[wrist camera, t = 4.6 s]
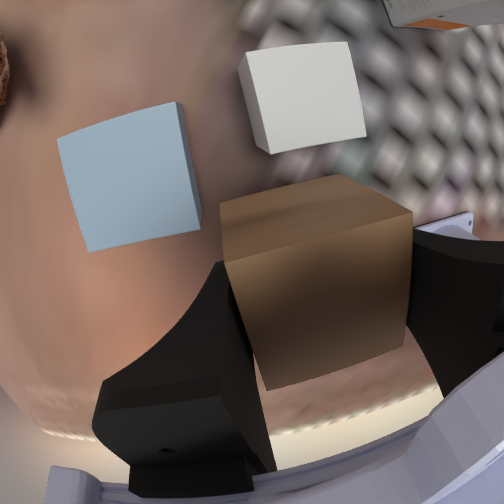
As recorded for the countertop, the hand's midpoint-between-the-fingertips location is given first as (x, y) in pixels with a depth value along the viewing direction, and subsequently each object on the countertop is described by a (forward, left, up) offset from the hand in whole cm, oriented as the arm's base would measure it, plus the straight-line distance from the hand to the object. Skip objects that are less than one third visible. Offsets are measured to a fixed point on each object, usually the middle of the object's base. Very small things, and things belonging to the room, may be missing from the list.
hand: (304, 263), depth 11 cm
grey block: (+6, -3, -9) cm, 11 cm away
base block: (+4, +7, -9) cm, 12 cm away
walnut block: (0, 0, -2) cm, 2 cm away
